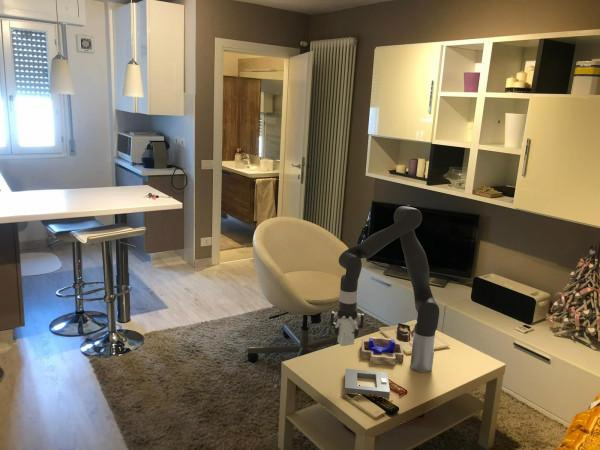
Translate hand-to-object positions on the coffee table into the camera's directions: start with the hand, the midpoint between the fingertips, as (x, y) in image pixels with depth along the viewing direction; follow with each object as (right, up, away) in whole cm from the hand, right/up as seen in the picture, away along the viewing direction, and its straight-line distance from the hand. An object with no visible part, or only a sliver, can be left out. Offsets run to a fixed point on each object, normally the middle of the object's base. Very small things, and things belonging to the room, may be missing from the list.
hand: (346, 335), depth 211 cm
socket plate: (+8, -21, -2) cm, 22 cm away
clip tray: (+19, -14, +25) cm, 35 cm away
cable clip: (+19, -14, +27) cm, 36 cm away
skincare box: (0, -4, +1) cm, 4 cm away
